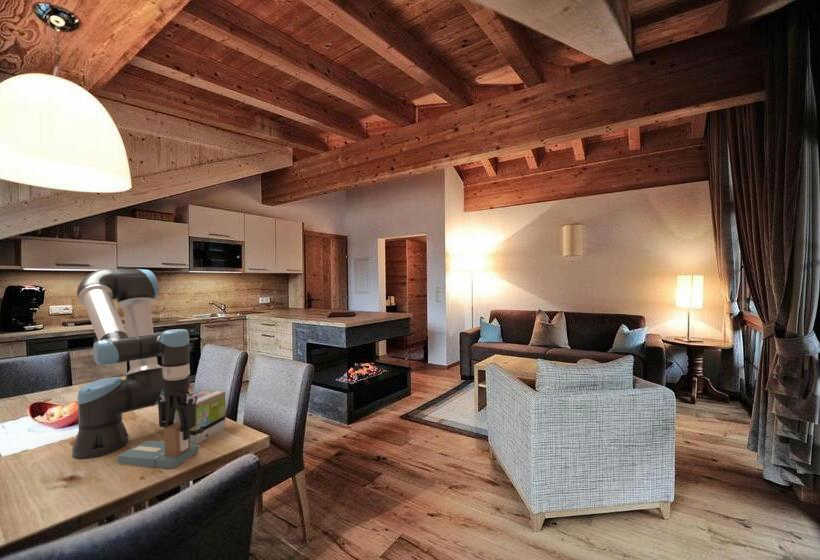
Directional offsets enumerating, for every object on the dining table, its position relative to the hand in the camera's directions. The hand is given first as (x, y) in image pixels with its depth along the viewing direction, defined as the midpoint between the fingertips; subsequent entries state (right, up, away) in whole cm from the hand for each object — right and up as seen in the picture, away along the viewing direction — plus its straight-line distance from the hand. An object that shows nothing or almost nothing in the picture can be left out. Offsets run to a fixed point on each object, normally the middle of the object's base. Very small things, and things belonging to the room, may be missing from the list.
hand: (177, 448), depth 120 cm
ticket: (-10, -4, +2) cm, 11 cm away
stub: (0, -4, 0) cm, 4 cm away
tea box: (-3, -4, +18) cm, 19 cm away
